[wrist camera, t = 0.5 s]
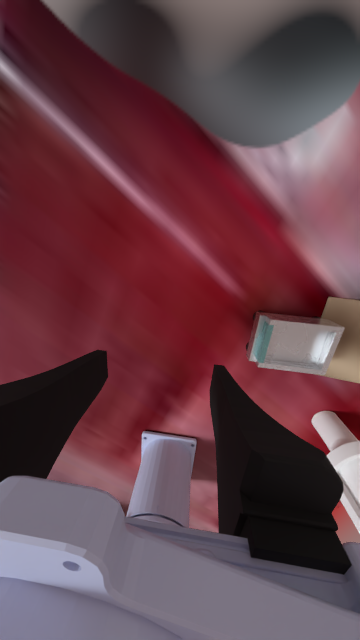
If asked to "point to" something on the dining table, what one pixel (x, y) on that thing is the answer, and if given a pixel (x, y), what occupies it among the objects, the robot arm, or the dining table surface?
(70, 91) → the dining table surface
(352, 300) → the dock
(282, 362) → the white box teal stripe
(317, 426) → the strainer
